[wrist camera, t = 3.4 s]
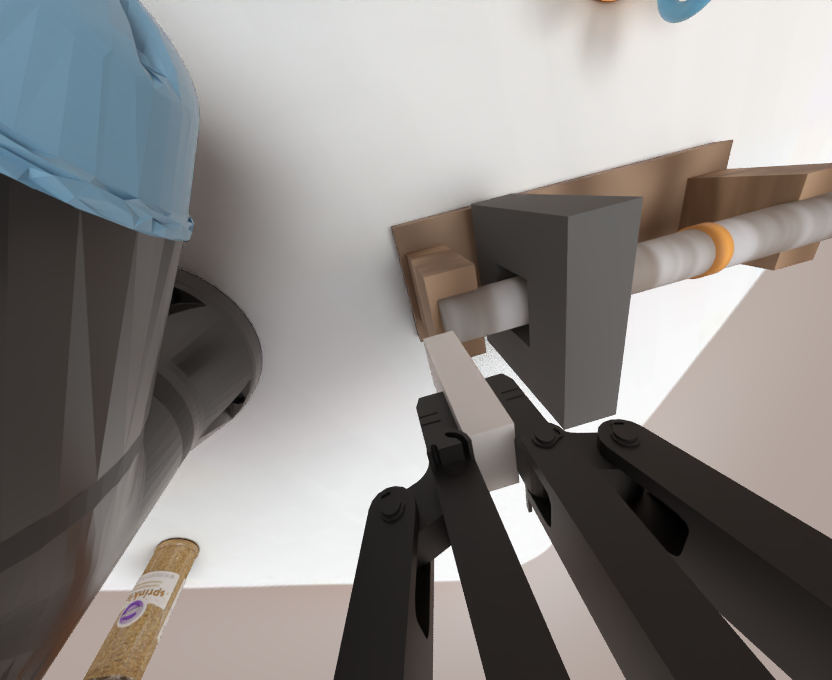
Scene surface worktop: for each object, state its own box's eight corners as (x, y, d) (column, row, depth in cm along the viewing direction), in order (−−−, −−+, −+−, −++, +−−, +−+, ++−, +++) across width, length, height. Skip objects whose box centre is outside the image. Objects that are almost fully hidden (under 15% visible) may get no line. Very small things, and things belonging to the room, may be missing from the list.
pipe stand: (418, 335, 29) (447, 406, 19) (391, 226, 24) (411, 249, 14) (688, 259, 30) (840, 291, 20) (713, 142, 25) (924, 113, 16)
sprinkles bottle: (182, 532, 35) (91, 709, 23) (208, 551, 37) (137, 722, 25) (146, 546, 35) (36, 730, 23) (174, 564, 37) (87, 742, 25)
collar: (487, 340, 26) (564, 429, 16) (470, 204, 21) (568, 216, 11) (520, 331, 26) (615, 414, 16) (511, 193, 21) (643, 196, 11)
